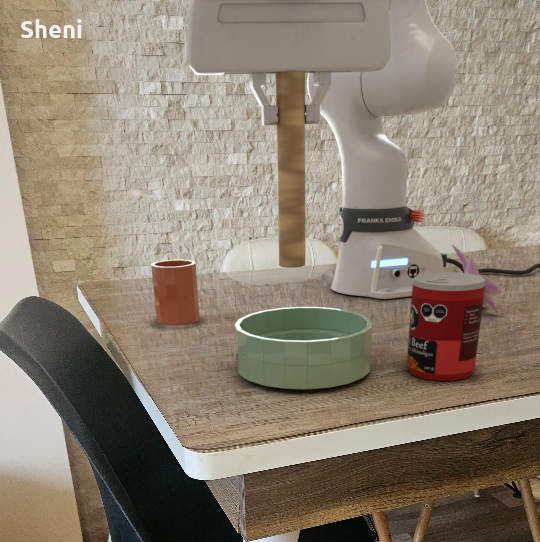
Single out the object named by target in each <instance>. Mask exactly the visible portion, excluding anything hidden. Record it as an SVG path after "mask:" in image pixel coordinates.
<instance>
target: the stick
mask: <svg viewBox="0 0 540 542" xmlns="http://www.w3.org/2000/svg"><path fill="white" fill-rule="evenodd" d="M274 76H275V79H274V80H275V83H274V84H275V105H278V114H277V117H278V125H275V126H276V127H275V128H276V129H275V130H276V135H275V136H276V174H277V175H276V177H277V179H276V181H277V220H278V221H277V226H278V227H277V228H278V230H277V231H278V266H279V267H281V268H289V269H293V268H294V269H295V268H302V267H305V266H306V124H305V105H306V73H305V71H295V70H292V71H284V72H275V74H274Z"/></svg>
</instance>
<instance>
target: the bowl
mask: <svg viewBox="0 0 540 542" xmlns="http://www.w3.org/2000/svg"><path fill="white" fill-rule="evenodd" d="M372 339H373V320H372V319H371V318H370V317H368V316H367V315H364V314H363V313H359V312H356V311H353V310H347V309H342V308H335V307H322V306H294V307H293V306H292V307H279V308H272V309H265V310H264V309H263V310H261V311H255V312H252V313H249V314H247V315H245V316H242V317H240V318H238V319H237V321H236V322H235V323H234V341H235V342H234V344H235V346H234V347H235V360H236V361H235V363H236V370H237V373H238V375H239V376H241V377H242V378H244V379H245V380H246V381H248V382H251V383H254V384H258V385H260V386H264V387H271V388H277V389H278V388H279V389H286V390H298V391H299V390H320V389H329V388H334V387H338V386H344V385H348V384H351V383H354V382H356V381H358V380H361V379H364V378H365V376H367V375H368V374H369V373H370V372H371V365H372V363H371V360H372V342H373V340H372Z"/></svg>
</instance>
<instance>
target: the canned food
mask: <svg viewBox="0 0 540 542" xmlns="http://www.w3.org/2000/svg"><path fill="white" fill-rule="evenodd" d="M484 290H485V279H484V278H483V277H481V276H478V275H474V274H467V273H458V272H453V271H444V272H436V273H426V274H421V275H418V276H416V277H414V281H413V286H412V296H411V297H410V299H411V300H410V313H409V329H408V343H407V357H406V365H407V369H408V372H409V373H410V374H411V375H413V376H415V377H417V378H421V379H423V380H429V381H436V382H453V381H461V380H465V379H467V378H470V377H471V375H472V374H473V372H474V370H475V368H476V362H477V353H478V346H479V338H480V330H481V324H482V323H481V322H482V315H483V307H484V306H483V299H484Z"/></svg>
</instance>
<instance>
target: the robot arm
mask: <svg viewBox="0 0 540 542" xmlns="http://www.w3.org/2000/svg"><path fill="white" fill-rule="evenodd" d="M429 10H430V9H429V7H428V2H427V0H191V1H190V5H189V11H188V22H187V63H188V67H189V68H190V69H191V71H192V72H193V73H194V74H195V75H196V76H220V75H221V76H224V75H225V76H226V75H233V76H234V75H248V76H249V88H250V90H251V92H252V94H253V96H254V98H255V99H256V102H257V103H258V105H259V107H260V111H261V114H260V115H261V126H276V125H278V117H277V114H278V105H276V104H273V105H272V104H270V101H269V100H268V97H267V96H266V94H265V92H264V90H263V88H264V87H266V86H267V75H275V72H284V71H292V70H295V71H305V74H307V78H306V79H307V80H306V82H307V83H306V86H307V93H308V97H309V99H310V103H309V104H305V125H320V121H321V116H322V118H324V119H325V120H326V122H327V124H328V125H329V127H330V128H331V131H332V133H333V136H334V137H335V140H336V144H337V147H338V151H339V155H340V164H341V206H340V207H339V211H338V218H337V236H338V240H339V244H338V255H337V260H336V267H335V271H334V276H333V279H332V282H331V285H330V289H331V290H332V291H333V292H336V293H339V294H343V295H350V296H356V297H357V296H358V297H368V298H373V299H379V300H388V299H398V298H406V297H412V286H413V281H414V277H416V276H418V275H421V274H426V273H436V272H445V270H444V268H446V267H447V263H448V264H452V265H453V266H456V267H457V268H458V269H460V271H463V273H464V268H463V265H462V263H461V261H458V260H456V259H453V258H449V257H448V254H447V253H442V252H440V251H439V250H438V249H437V248H436V247H435V246H434V245H433V244H432V243H431V242H430V241H428V240H427V239H426V238H425V237H424V236H423V235H422V234H420V233H419V232H418V231H417V230H416V229H415V228H414V226H415V223H418V224H419V223H422V222H423V220H425V217H426V214H425V212H424V211H423V210H421V209H418V208H417V209H416V208H415V209H412V208H410V207H409V206H407V205H406V200H407V199H406V197H407V183H408V171H409V170H408V168H409V162H408V158H407V156H406V153H405V152H404V151H403V150H402V148H401V147H400V146H398V145H397V144H395V143H394V142H393V141H391V140H390V139H389V138H388V137H387V135H386V133H385V130H384V127H383V126H384V125H383V117H397V116H398V117H399V116H400V117H401V116H415V115H419V114H423V113H427V112H429V111H430V112H431V111H433V110H436V109H439V108H441V107H443V106H444V105H445V104H446V102H447V101H448V100H449V98H450V97H451V95H452V94H453V91H454V89H455V86H456V83H457V78H458V72H459V71H458V69H459V67H458V66H459V64H458V59H457V55H456V52H455V51H456V50H455V48H454V46H453V45H452V43H451V42H450V41H449V39H448V38H447V37H446V36H444V34H442V33H441V31H440V30H439V29H438V27H437V26H436V25H435V23H434V20H433V18H432V16H431V13H430V11H429ZM477 269H478V268H477ZM536 269H539V270H540V263H535V264H534V265H532V266H530V267H529V268H527V269H522V270H514V269H513V270H512V269H502V268H501V269H500V268H489V267H488V268H487V267H486V268H485V267H483V268H479V269H478V272H479V274H500V275H508V276H509V275H512V276H525V275H528V274H530V273H532V272H534V271H535V270H536Z"/></svg>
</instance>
